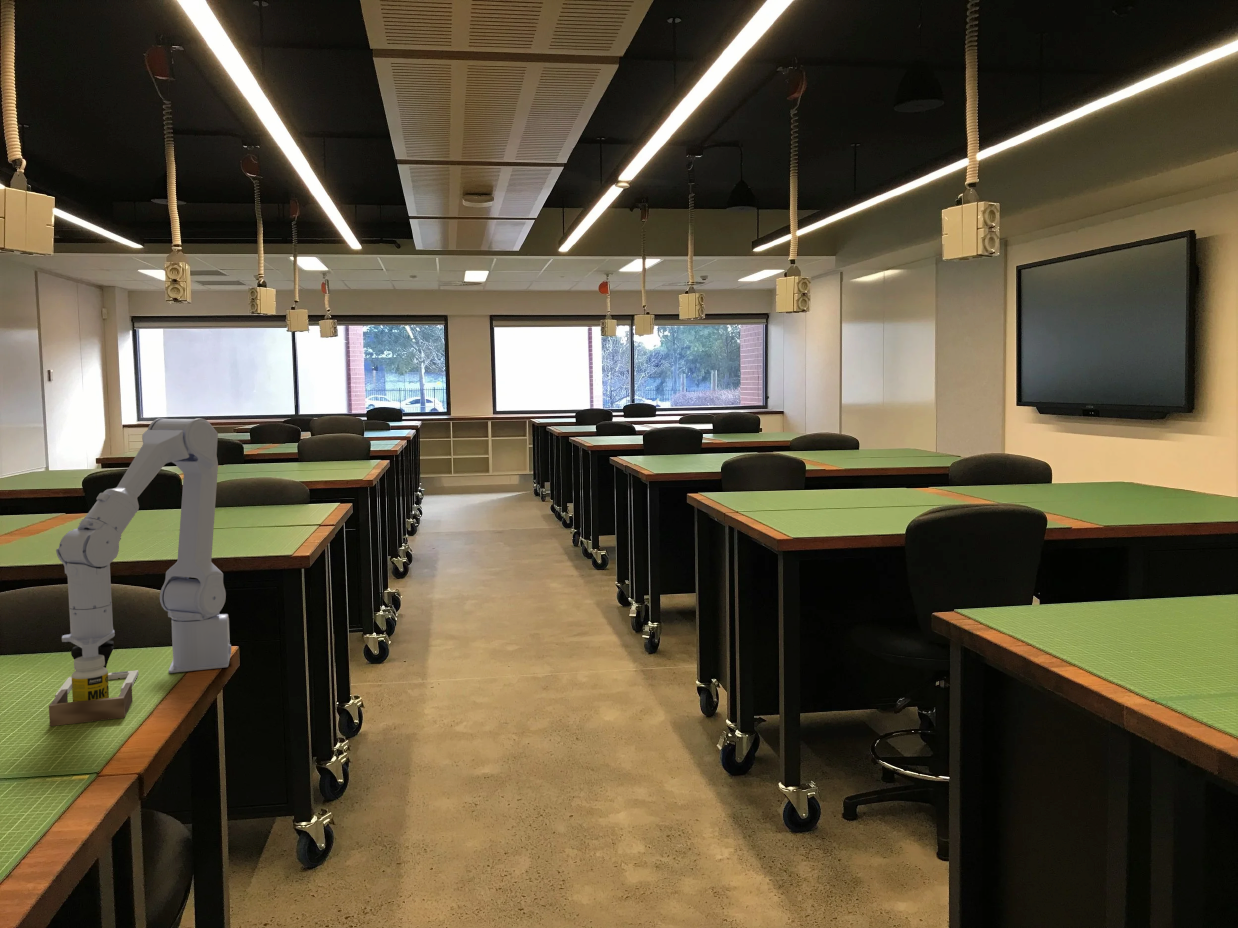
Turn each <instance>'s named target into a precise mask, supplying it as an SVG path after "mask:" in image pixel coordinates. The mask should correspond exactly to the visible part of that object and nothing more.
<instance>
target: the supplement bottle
mask: <svg viewBox="0 0 1238 928" xmlns="http://www.w3.org/2000/svg"><path fill="white" fill-rule="evenodd" d="M104 665H105V659H104V656H103V655H98V656H96V657H87V658H83V656H82V657H79V658H76V659H75V660H74V659H73V668H74V670H75V671H73V672H72V673H71V677H72V689H71V693H72V694H71V695H72V702H77V701H86V700H95V699H105V698H110V694H109V691H110V690H109V689H110V688H109V680H108V673H109V672H108V671H109V670H108V668H107V667H106V668H105V667H103V666H104Z"/></svg>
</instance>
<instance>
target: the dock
mask: <svg viewBox="0 0 1238 928" xmlns="http://www.w3.org/2000/svg"><path fill="white" fill-rule="evenodd" d="M137 676H139V670H138V669H136V670H124V671H116V672H113V671H112V672H108V681H109V680H119V679H118V678H120V679H125V680H124V681H123V684H122V685H121V687H120V692H121V691H122V689H123V687H124V686H125V684H126V683H131V682H132V687H134V684H135V683H134V682H136V681H135V680H137V679H136V678H138V677H137ZM63 689H67V695H68V694H69V693H70V692H71V691H72V676H68V678H67V679H66V680H65V681H64V683H63V684H62V685H61V687H59V689H58V691H57V692H56V693H55V695H54V696H55V697H56V696H57V695H58V693H59V692H60V691H61V690H63ZM55 697H54V698H55Z"/></svg>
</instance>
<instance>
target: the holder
mask: <svg viewBox="0 0 1238 928" xmlns="http://www.w3.org/2000/svg"><path fill="white" fill-rule="evenodd" d="M68 697H69V696H68V694H67V689H63V690H61V691H60V692H59V693H58V695H57V696H56V697H54V699H53V700H52V701H51V703H50V704H49V705H48V715H49V717H48V718H49V726H50V727H54V726H55V727H56V726H62V725H63V726H65V725H73V724H74V725H75V724H81V723H90V722H91V723H92V722H99V721H107V720H115V719H116V720H117V719H123V718H125V717H126V715H127V713H128V712H129V710H130V707H131V705H132V703H133V686H132V682H131V683H126V684H125V686H124V687H123V689H122V691H121V690H120V694H119V695H118V696H117V697H109V698H105V699H95V700H86V701H77V702H73V701H69V700H68Z"/></svg>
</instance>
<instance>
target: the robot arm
mask: <svg viewBox="0 0 1238 928" xmlns="http://www.w3.org/2000/svg"><path fill="white" fill-rule="evenodd" d="M141 438H142V445H141V447H140V448H139V450H138V452H137V454H136V455H135V456H134V458H133V459H132V461H131V463H130V465H129V467H128V468H127V470H126V471H125V473H124V474H123V476H122V478H121V480H120V481H119V483H118V484H117V486H116V487H114V488H107V489H106V490H104V491H103V492H100V493H99V494H98V495H97V497H96V502H95V503H94V505H92V507H91V508H90V510H89V511H88V512H87V514H86V515H85V517H84V518H83V519H81V521H80V522H79V525H78V526H77V528H73V529H72V530H69V531H68V532H67V533H66V534H65V535H64V536H62V538H61V539H60V541H59V545H58V547H57V548H56V549H55V552H56V556H57V558H58V560H59V561H60V563H62V565H63V566H64V574H66V576H67V592H68V611H69V627H70V629H69V630H70V633H69V634H64V635H63V634H62V635H61V642H62V643H68V642H69V643H71V644H73V645H75V646H73V647H72V649H71V651H70V654H71V657H72V659H73V661H74V660H75V659H76V658H79V657H82V656H83V658H87V657H96V656H98V655H103V656H104V659H105V665H104V666H103V667H105V668H106V669H107V667H108V662H109V659H110V657H111V655H112V653H113V650H114V644H115V643H114V640H111V639H113V638H114V637H115V635H116V634H115V633H116V632H115V629H114V624H113V622H114V621H113V603H112V602H113V600H112V584H111V583H112V582H111V563H112V562H113V561H114V560H115V559H116V558H117V557H118V554H119V551H120V542H121V540H122V534H123V532H125V529H126V528H127V527H128V525H129V524H130V522H131V521H132V519H133V518H134V517H135V516H136V514H137V512H138V511H139V508H140V505H139V501H138V497H140V495H141V494H142V493H143V492H144V490H145V489H146V488H147V487H148V486H149V484H150V483H151V482H152V480H154V478H155V477H156V476H157V474H158V473H159V472H160V471H161V470H162V468H163V467H164V466H165V465H166V464H169V463H172V464H174V465H176V466H177V468H178V469H179V470H180V471H181V472H182V473H183V480H182V496H181V508H180V522H179V532H178V533H179V535H178V547H177V561H176V562H175V563H174V564H173V565H172V566H170V567H169V569H167V570H166V572H165V579H164V583H163V585H162V587H161V589H160V592H159V602H160V606H161V608H163V610H164V611H165V612H167V617H168V618H171V619H170V620H171V640H172V642H171V644H172V646H171V647H172V661H171V663H170V666H169V668H168V673H169V674H173V673H174V674H176V673H182V672H183V673H185V672H193V671H203V670H205V671H206V670H213V669H222V668H223V669H224V668H228V667H229V665H230V659H231V655H232V644H231V642H230V641H231V640H230V637H231V636H230V618H229V614H228V613H220V612H221V611H222V609H223V607H224V605H225V603H226V599H227V598H226V596H227V591H226V588H225V584H224V573H223V572H222V571H221V569H219V568H218V567H217V566H216V565H215V564H214V563H213V562H212V555H213V540H214V529H215V526H214V525H215V514H216V513H215V512H216V502H217V501H216V500H217V499H216V498H217V489H218V488H217V486H218V485H217V484H218V472H219V463H218V457H217V454H218V440H219V432H218V431H217V430H216V429H215V428H214V426H213V425H212V424H211V423H210V421H208V420H207V419H205V418H200V417H199V418H166V417H164V418H163V417H160V418H156V419H154V420H153V421H152V422H150V424H149V426H148V427H147V429H146V430H145V431H144V433H142V436H141Z"/></svg>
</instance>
